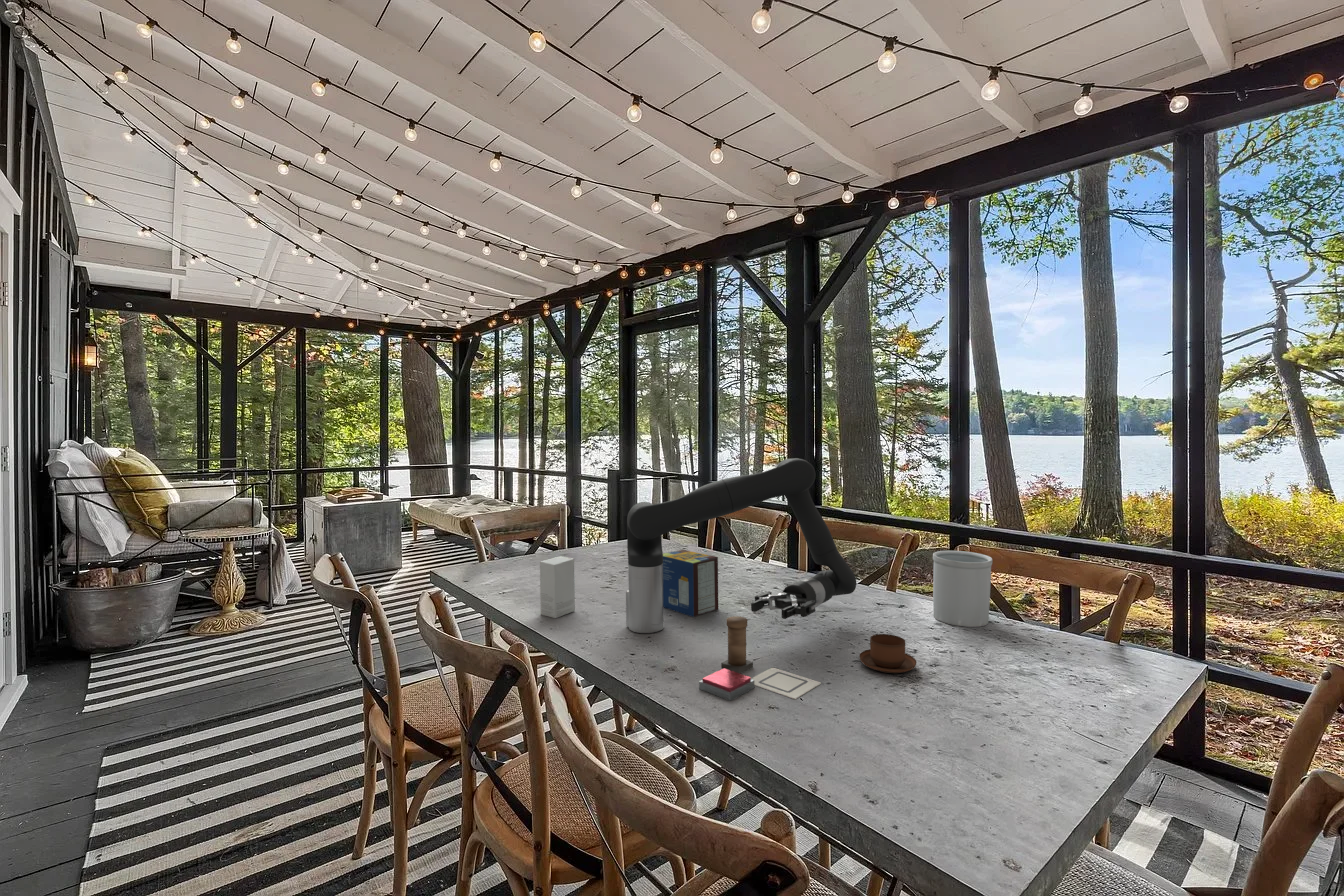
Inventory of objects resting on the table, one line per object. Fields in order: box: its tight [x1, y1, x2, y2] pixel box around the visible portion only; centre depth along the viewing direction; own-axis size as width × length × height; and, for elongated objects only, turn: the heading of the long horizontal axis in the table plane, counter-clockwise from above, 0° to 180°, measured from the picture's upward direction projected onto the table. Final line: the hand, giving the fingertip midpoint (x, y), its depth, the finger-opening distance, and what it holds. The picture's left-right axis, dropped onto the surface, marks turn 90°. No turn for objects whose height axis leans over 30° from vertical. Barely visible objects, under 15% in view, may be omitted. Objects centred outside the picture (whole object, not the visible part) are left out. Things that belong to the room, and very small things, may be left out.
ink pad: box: [698, 668, 755, 702], centre depth 125 cm, size 8×8×2 cm
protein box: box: [663, 549, 719, 618], centre depth 181 cm, size 10×15×16 cm
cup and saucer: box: [858, 633, 917, 674], centre depth 136 cm, size 12×12×6 cm
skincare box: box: [539, 555, 576, 619], centre depth 176 cm, size 8×7×16 cm
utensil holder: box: [932, 550, 993, 628], centre depth 168 cm, size 15×15×18 cm
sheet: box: [751, 667, 822, 700], centre depth 128 cm, size 12×10×1 cm
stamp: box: [720, 615, 754, 674], centre depth 136 cm, size 5×5×11 cm
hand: (767, 610), depth 144 cm, fingers open, 8 cm apart
